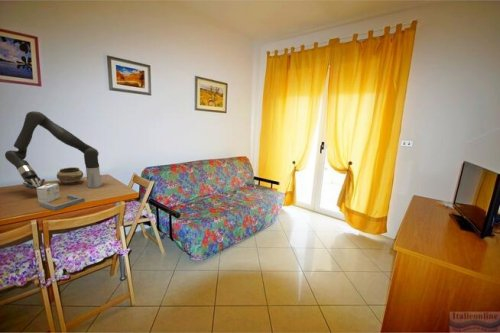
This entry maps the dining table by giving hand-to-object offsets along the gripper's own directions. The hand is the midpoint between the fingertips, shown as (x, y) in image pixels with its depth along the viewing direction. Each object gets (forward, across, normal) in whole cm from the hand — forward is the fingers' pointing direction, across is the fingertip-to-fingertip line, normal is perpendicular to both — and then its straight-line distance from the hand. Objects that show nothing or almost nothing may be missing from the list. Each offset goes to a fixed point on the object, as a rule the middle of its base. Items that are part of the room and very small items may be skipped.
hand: (40, 191), depth 155 cm
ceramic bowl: (-10, +31, +16) cm, 36 cm away
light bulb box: (+10, 0, -3) cm, 11 cm away
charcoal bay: (+19, 0, -13) cm, 23 cm away
